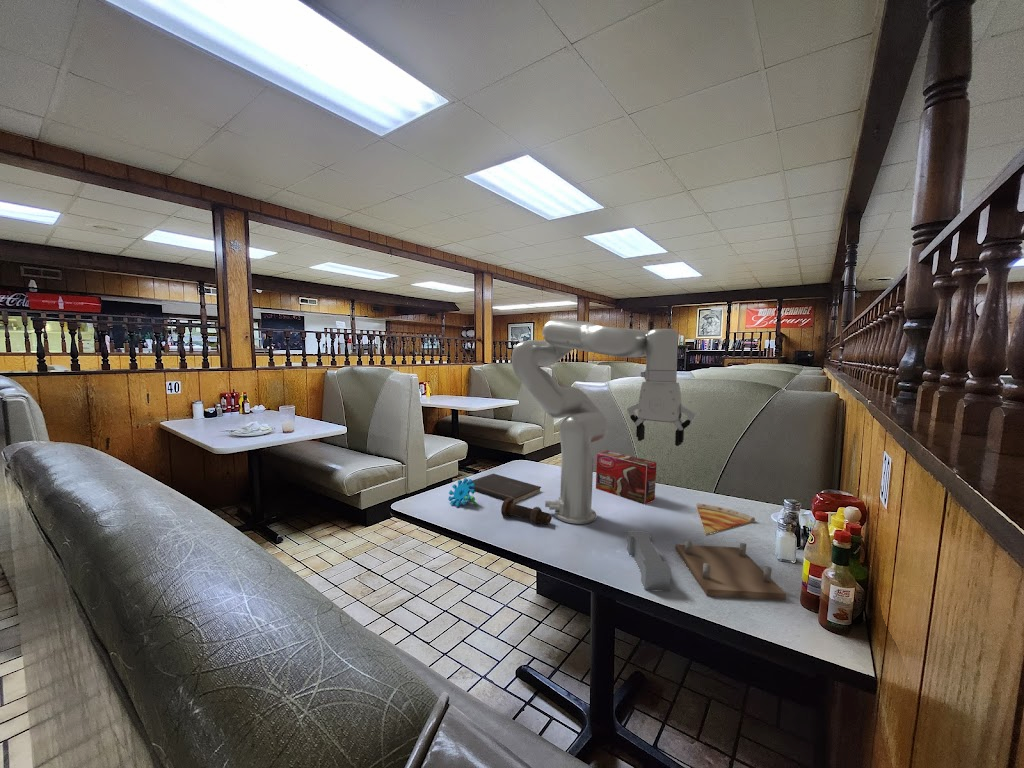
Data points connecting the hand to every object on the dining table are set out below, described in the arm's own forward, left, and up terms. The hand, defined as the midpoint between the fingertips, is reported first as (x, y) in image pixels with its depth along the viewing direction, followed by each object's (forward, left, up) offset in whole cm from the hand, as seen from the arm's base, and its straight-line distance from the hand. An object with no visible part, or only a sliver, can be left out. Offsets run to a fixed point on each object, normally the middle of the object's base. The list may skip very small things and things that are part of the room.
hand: (659, 442), depth 109 cm
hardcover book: (-44, +36, -28) cm, 63 cm away
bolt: (-34, +11, -28) cm, 45 cm away
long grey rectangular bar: (-5, -13, -27) cm, 31 cm away
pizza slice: (+22, +19, -28) cm, 40 cm away
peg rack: (+13, -13, -27) cm, 33 cm away
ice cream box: (0, +37, -28) cm, 46 cm away
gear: (-55, +22, -28) cm, 65 cm away
